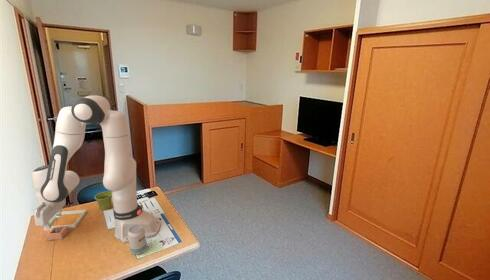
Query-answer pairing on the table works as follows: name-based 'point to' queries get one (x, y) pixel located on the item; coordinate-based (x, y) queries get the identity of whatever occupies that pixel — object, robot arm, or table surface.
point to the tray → (69, 213)
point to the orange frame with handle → (53, 235)
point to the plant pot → (104, 200)
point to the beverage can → (137, 239)
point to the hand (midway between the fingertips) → (54, 222)
